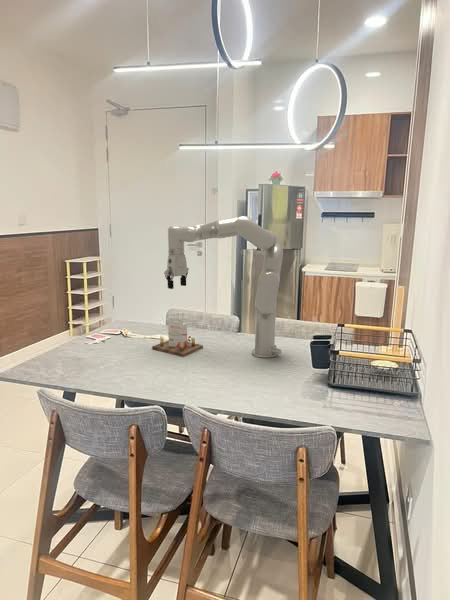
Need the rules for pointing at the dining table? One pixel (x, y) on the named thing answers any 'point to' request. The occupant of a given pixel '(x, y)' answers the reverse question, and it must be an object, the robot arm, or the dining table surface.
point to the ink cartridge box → (177, 332)
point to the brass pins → (180, 343)
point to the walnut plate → (177, 349)
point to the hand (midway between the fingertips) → (177, 287)
